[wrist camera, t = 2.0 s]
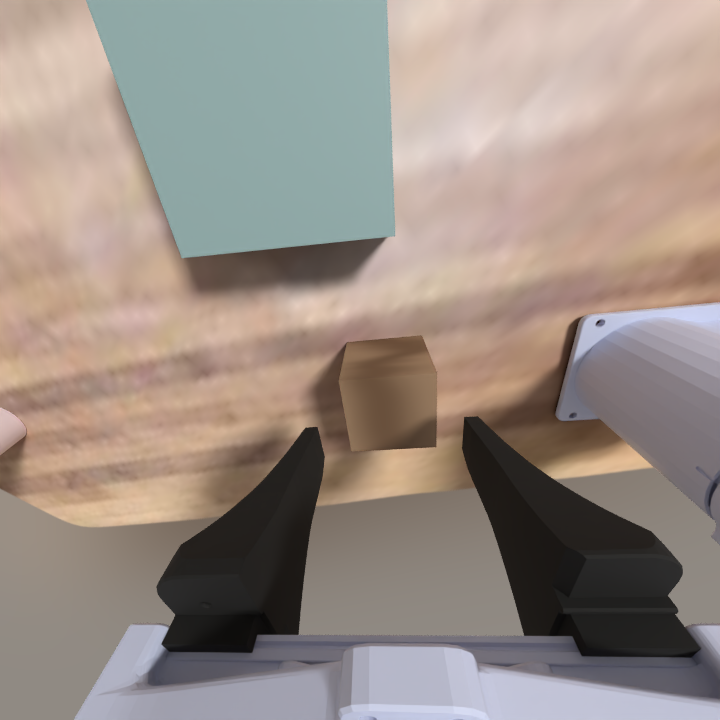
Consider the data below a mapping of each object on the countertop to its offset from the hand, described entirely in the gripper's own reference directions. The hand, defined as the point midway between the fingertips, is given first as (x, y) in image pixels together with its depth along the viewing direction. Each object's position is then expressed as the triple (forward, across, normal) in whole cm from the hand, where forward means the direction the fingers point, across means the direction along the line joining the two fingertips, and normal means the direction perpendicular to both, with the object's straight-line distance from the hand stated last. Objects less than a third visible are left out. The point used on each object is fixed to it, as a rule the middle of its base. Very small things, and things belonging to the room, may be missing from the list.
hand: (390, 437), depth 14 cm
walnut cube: (+7, 0, 0) cm, 7 cm away
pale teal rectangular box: (+7, +4, -14) cm, 16 cm away
